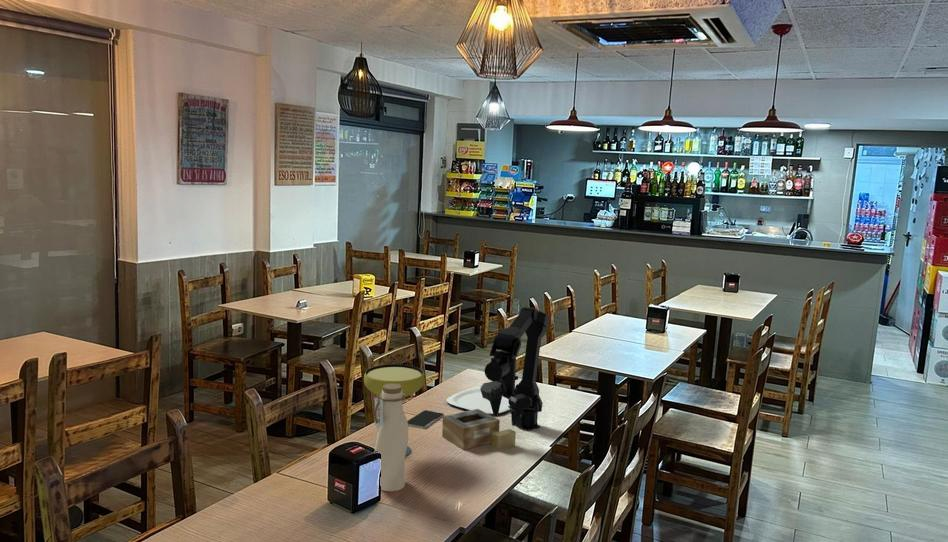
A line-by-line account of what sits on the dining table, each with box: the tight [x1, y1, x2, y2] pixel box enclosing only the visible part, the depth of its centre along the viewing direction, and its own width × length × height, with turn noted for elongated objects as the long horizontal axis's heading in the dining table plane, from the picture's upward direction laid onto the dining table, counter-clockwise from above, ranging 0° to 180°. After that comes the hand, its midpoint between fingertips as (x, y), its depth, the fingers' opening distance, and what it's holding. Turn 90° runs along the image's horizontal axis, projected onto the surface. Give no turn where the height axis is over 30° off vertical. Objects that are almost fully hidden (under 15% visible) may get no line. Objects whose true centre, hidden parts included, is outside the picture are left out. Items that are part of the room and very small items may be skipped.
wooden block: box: [491, 428, 517, 452], centre depth 212 cm, size 7×3×5 cm, turn 125°
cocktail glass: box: [363, 363, 425, 457], centre depth 205 cm, size 18×18×25 cm
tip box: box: [441, 409, 501, 450], centre depth 218 cm, size 14×12×7 cm
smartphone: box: [407, 409, 445, 430], centre depth 234 cm, size 8×1×15 cm
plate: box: [445, 386, 511, 415], centre depth 254 cm, size 25×25×2 cm
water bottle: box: [373, 384, 409, 492], centre depth 182 cm, size 10×9×28 cm
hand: (504, 420), depth 211 cm, fingers open, 9 cm apart
